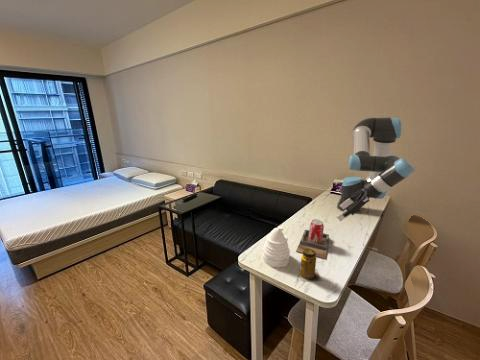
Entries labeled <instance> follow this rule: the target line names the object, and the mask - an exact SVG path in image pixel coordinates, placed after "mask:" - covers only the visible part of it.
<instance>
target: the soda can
mask: <svg viewBox="0 0 480 360" xmlns="http://www.w3.org/2000/svg"><path fill="white" fill-rule="evenodd" d="M308 230H309V241H310V242H311V243H316V244H320V243H321V242H322V237H323V233H324V230H325V225H324V221H322V220H320V219H312V220H311V221H310V223H309V228H308Z"/></svg>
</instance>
